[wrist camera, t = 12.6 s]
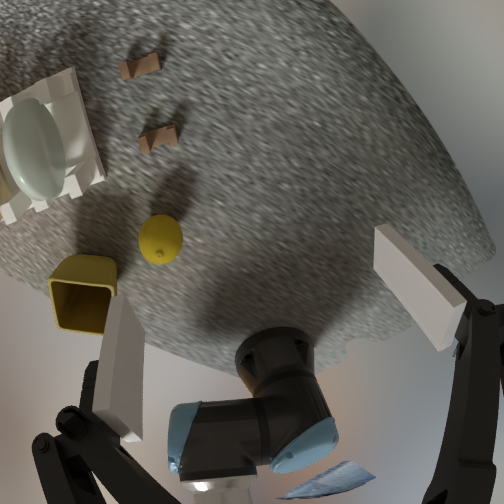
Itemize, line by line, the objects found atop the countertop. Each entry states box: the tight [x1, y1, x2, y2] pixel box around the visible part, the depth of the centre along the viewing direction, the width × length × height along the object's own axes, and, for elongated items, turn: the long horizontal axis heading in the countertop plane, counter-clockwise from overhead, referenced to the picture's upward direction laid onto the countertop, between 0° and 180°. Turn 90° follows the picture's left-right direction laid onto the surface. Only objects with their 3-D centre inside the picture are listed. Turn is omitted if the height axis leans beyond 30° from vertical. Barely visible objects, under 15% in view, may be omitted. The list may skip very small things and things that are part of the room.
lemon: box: [139, 215, 183, 264], centre depth 38 cm, size 6×6×8 cm
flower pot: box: [48, 254, 117, 336], centre depth 39 cm, size 9×9×9 cm
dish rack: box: [0, 67, 106, 225], centre depth 29 cm, size 15×18×7 cm
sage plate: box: [3, 98, 66, 201], centre depth 26 cm, size 11×1×11 cm, turn 10°
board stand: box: [119, 52, 179, 155], centre depth 32 cm, size 11×4×3 cm, turn 10°
